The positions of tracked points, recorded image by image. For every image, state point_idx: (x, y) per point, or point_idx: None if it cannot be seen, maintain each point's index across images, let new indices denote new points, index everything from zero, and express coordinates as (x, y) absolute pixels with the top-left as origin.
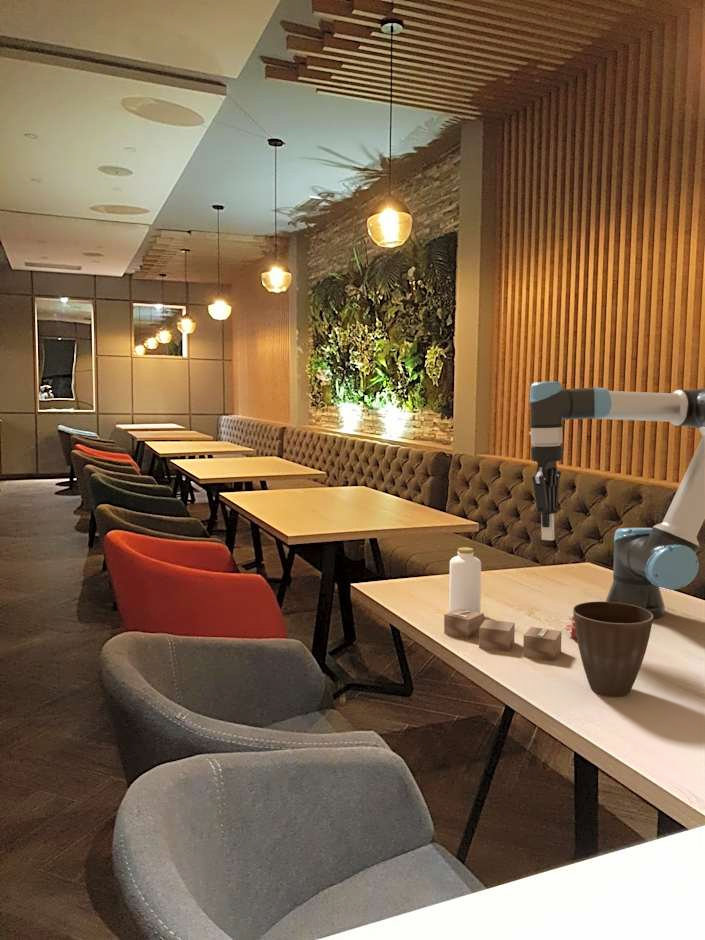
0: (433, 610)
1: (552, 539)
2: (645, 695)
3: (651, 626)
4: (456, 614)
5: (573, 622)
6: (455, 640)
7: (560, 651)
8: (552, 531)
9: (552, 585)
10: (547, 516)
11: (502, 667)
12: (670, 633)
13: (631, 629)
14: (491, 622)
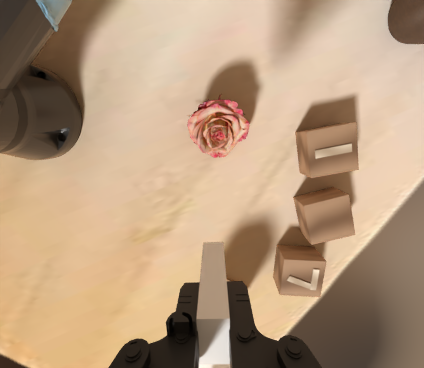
0: None
1: (220, 243)
2: None
3: None
4: (315, 284)
5: (239, 138)
6: (327, 256)
7: (299, 131)
8: (219, 260)
9: (3, 263)
10: (253, 322)
11: (396, 167)
12: (112, 25)
13: None
14: (321, 232)
